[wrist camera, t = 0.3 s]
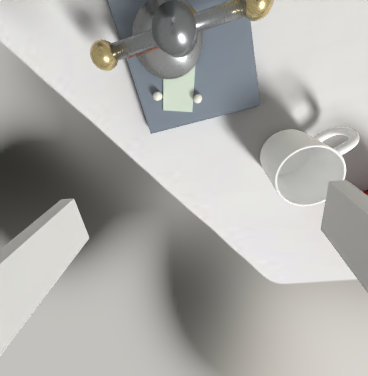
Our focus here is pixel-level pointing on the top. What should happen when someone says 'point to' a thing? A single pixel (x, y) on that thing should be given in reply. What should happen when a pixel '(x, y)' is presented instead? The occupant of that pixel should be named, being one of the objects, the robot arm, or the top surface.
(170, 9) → the grey lever with knob
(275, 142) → the cup
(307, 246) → the top surface
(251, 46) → the stand
